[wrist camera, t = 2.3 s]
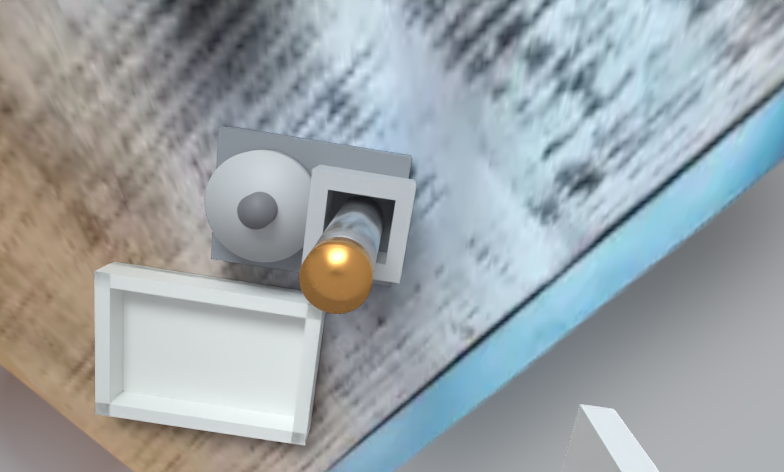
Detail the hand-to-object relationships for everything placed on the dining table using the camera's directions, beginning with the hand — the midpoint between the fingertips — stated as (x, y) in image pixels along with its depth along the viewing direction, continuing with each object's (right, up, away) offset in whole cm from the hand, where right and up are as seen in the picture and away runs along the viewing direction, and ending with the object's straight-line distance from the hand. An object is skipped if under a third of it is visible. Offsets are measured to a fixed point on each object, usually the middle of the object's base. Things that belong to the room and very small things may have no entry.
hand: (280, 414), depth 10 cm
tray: (-13, -6, +30) cm, 33 cm away
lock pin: (0, +5, +24) cm, 25 cm away
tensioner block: (-4, +6, +26) cm, 27 cm away
